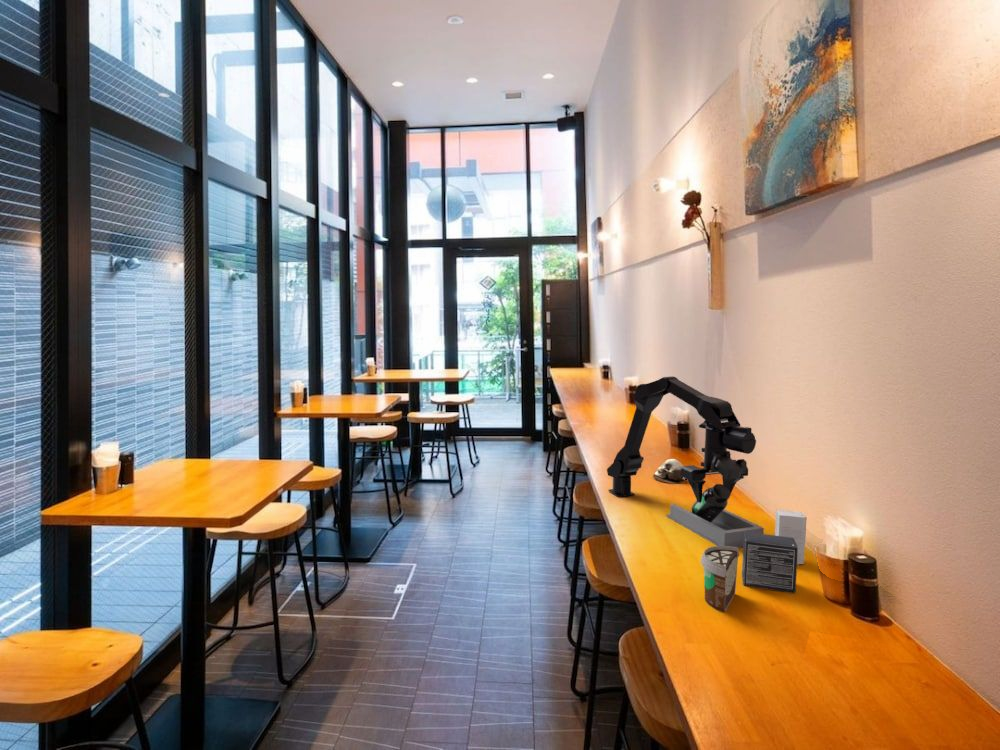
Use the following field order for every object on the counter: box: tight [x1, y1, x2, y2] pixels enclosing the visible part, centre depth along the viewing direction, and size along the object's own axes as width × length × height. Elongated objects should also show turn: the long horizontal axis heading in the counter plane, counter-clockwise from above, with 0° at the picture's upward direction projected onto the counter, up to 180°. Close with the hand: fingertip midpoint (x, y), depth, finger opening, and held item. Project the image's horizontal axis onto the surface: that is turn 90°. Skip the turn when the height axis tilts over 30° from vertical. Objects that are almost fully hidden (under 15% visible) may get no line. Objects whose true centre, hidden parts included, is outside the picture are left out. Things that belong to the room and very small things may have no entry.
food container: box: [700, 545, 740, 613], centre depth 119 cm, size 12×6×10 cm, turn 145°
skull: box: [652, 458, 685, 485], centre depth 207 cm, size 12×10×10 cm
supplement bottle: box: [691, 483, 731, 523], centre depth 159 cm, size 7×7×12 cm
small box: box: [741, 532, 798, 594], centre depth 126 cm, size 11×6×10 cm, turn 71°
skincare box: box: [774, 509, 807, 565], centre depth 138 cm, size 6×4×12 cm
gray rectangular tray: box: [665, 503, 765, 549], centre depth 158 cm, size 25×13×4 cm, turn 19°
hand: (712, 500), depth 158 cm, fingers open, 9 cm apart
